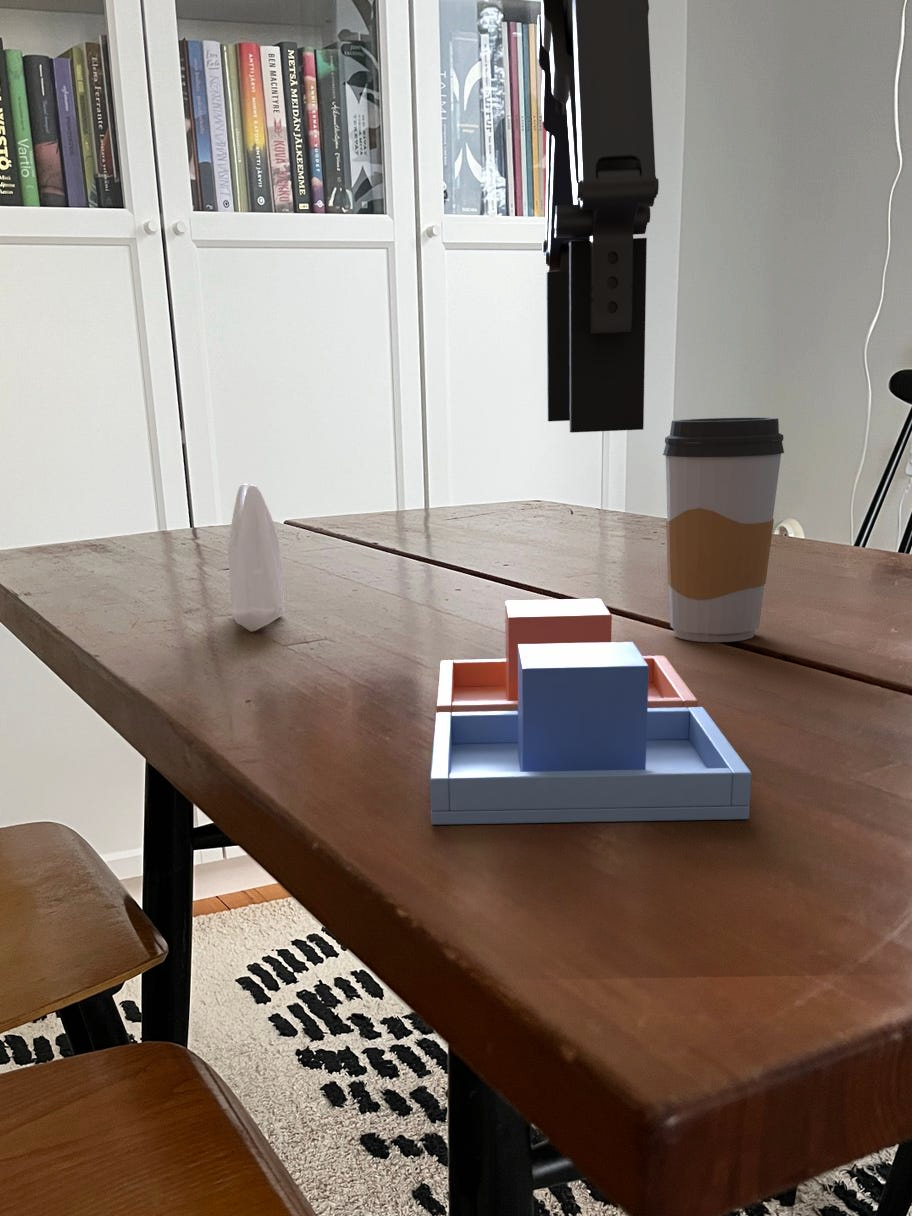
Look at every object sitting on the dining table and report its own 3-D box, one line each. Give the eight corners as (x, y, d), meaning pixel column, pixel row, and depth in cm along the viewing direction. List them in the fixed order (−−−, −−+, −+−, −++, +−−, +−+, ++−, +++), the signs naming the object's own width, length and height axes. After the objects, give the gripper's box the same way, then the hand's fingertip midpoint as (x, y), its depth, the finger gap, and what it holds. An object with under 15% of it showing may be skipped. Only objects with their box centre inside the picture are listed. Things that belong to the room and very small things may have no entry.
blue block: (630, 753, 62) (633, 641, 60) (645, 786, 57) (649, 665, 55) (518, 755, 62) (517, 644, 60) (522, 789, 57) (522, 668, 55)
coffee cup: (788, 629, 94) (803, 416, 89) (747, 649, 87) (760, 421, 82) (684, 621, 98) (692, 417, 93) (637, 639, 92) (643, 422, 87)
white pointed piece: (286, 635, 97) (277, 486, 93) (232, 638, 97) (219, 488, 93) (284, 610, 108) (275, 476, 104) (235, 612, 108) (224, 478, 104)
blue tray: (701, 746, 65) (703, 706, 64) (749, 819, 54) (752, 772, 53) (436, 751, 65) (435, 712, 64) (431, 825, 54) (430, 778, 54)
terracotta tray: (663, 689, 77) (665, 655, 76) (696, 739, 66) (698, 700, 65) (441, 694, 77) (440, 660, 77) (437, 744, 66) (436, 705, 66)
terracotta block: (599, 692, 74) (601, 598, 72) (609, 715, 69) (611, 614, 67) (505, 694, 74) (505, 600, 72) (509, 717, 69) (508, 617, 67)
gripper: (484, -64, 58) (495, 419, 66) (498, -360, 35) (512, 441, 42) (647, -73, 58) (639, 413, 66) (770, -378, 35) (736, 432, 42)
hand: (589, 426), depth 54 cm, fingers open, 13 cm apart
